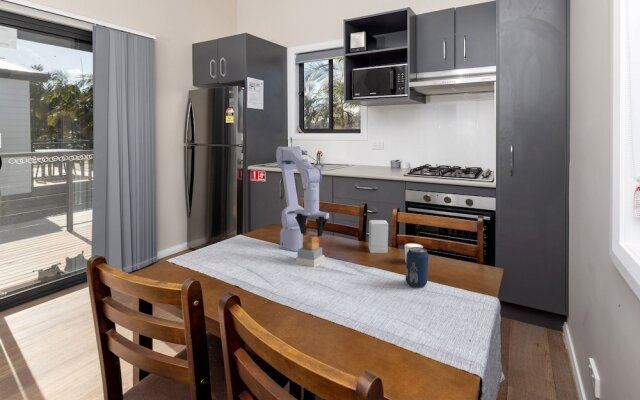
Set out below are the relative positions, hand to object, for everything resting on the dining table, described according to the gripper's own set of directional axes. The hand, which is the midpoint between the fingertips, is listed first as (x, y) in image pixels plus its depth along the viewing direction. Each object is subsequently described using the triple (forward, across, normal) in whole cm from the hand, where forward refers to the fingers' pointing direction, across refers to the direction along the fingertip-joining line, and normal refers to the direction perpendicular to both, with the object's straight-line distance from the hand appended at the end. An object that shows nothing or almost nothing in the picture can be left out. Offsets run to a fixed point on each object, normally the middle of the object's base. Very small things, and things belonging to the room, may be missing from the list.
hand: (311, 234), depth 152 cm
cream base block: (+11, +1, -2) cm, 11 cm away
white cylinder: (+10, +35, +18) cm, 41 cm away
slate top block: (+8, +1, -2) cm, 8 cm away
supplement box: (+11, +17, +26) cm, 33 cm away
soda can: (+10, +43, -3) cm, 44 cm away
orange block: (+5, +1, -2) cm, 5 cm away
